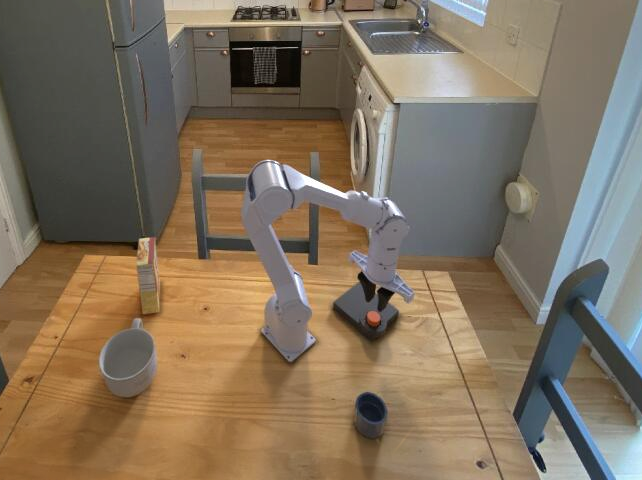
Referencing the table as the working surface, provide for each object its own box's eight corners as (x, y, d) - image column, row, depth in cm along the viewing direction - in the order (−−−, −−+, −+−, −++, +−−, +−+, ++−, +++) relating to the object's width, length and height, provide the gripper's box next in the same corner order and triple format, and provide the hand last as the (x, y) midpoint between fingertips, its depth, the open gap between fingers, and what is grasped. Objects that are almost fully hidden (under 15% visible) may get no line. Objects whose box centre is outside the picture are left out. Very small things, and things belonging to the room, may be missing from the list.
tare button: (363, 320, 93) (364, 315, 92) (371, 313, 94) (372, 308, 94) (374, 329, 91) (375, 324, 90) (382, 322, 92) (383, 317, 92)
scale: (330, 309, 99) (331, 299, 98) (359, 286, 105) (360, 276, 104) (374, 348, 90) (376, 336, 89) (403, 320, 96) (405, 309, 95)
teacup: (146, 411, 79) (141, 384, 76) (93, 400, 81) (87, 372, 78) (171, 344, 92) (168, 318, 89) (125, 335, 94) (121, 310, 91)
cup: (347, 420, 77) (349, 405, 76) (365, 401, 80) (368, 385, 79) (372, 447, 73) (374, 431, 72) (390, 425, 76) (393, 410, 75)
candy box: (144, 285, 107) (137, 238, 101) (161, 283, 107) (155, 236, 101) (142, 315, 99) (135, 265, 93) (160, 312, 99) (154, 263, 93)
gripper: (426, 267, 82) (416, 316, 88) (365, 228, 93) (359, 274, 98) (406, 285, 78) (397, 336, 84) (344, 242, 89) (339, 290, 94)
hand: (375, 304), depth 91 cm, fingers closed
